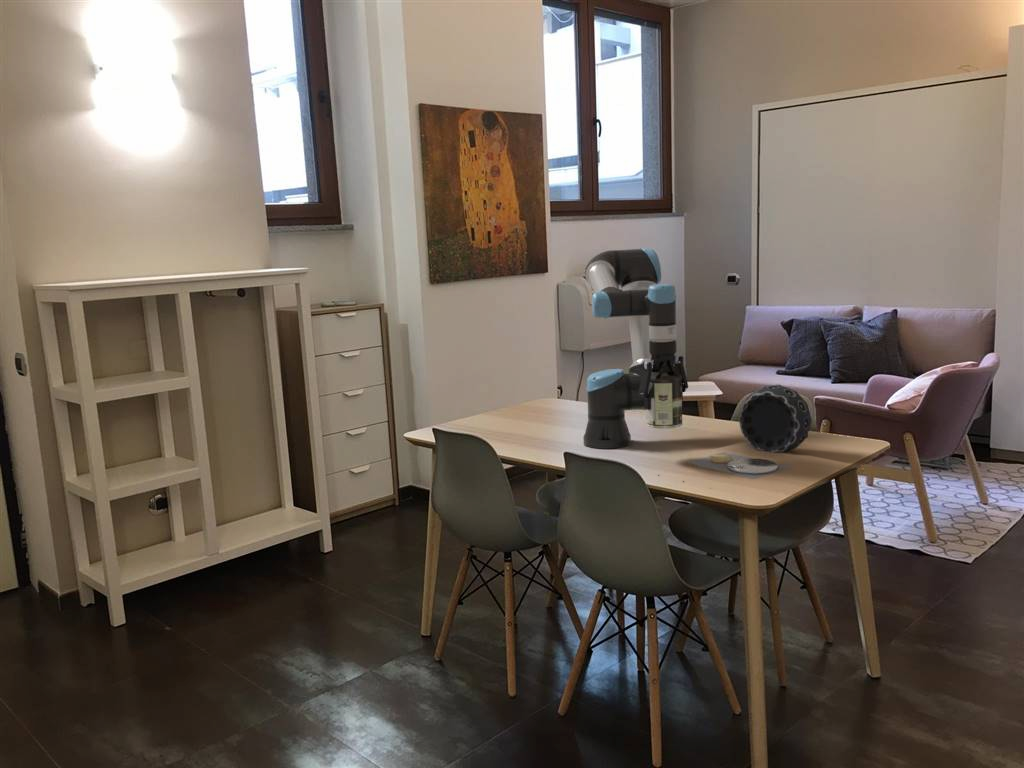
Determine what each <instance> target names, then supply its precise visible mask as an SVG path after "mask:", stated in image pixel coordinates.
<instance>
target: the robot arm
mask: <svg viewBox="0 0 1024 768" xmlns="http://www.w3.org/2000/svg"><path fill="white" fill-rule="evenodd" d="M661 268H662V267H661V263H660V260H659V256H658V254H657V252H656V251H655V250H654V249H652V248H636V249H633V248H632V249H618V250H617V249H615V250H613V249H612V250H605V251H602V252H600V253H599V254H597V255H595V256H593V257H592V258H591V259H590V260H589V261H588V262H587V265H586V266H585V269H584V277H585V280H586V281H585V282H587V285H588V286H589V287H591V288H592V291H593V293H592V295H591V309H592V311H591V312H592V315H593V316H594V318H599V319H600V318H604V319H608V318H622V317H623V318H624V317H628V319H629V320H628V323H629V334H630V335H629V337H630V347H631V357H632V364H631V365H630V366H629V367H628V373H625V371H624V369H622V368H614V369H613V368H611V369H604V370H600V371H596V372H593V373H591V374H590V375H589V376H587V380H586V393H587V419H588V420H587V423H586V427H585V428H586V429H585V432H584V435H583V445H584V446H585V447H588V448H595V449H616V448H618V449H619V448H623V447H627V446H629V445H631V443H632V436H631V433H630V430H629V428H628V424H627V422H626V417H625V414H626V413H625V411H636V410H639V411H640V410H645V421H647V420H648V421H655V408H654V398H652V396H653V393H654V383H650V379H651V378H652V379H659V377H661V375H662V374H663V373H667V374H668V375H673V376H675V375H677V374H680V375H682V403H683V401H684V398H683V397H684V395H683V394H684V393H685V392H687V391H686V390H688V388H689V384H688V379H687V375H686V371H685V366H684V356H681V355H675V354H676V353H677V340H676V339H677V317H676V316H677V310H676V309H677V308H676V307H677V306H676V303H677V294H676V287H675V285H674V284H671V283H670V284H669V283H661V281H662V271H661V270H662V269H661ZM619 286H621V289H620V287H619ZM648 393H649V394H648Z"/></svg>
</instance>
